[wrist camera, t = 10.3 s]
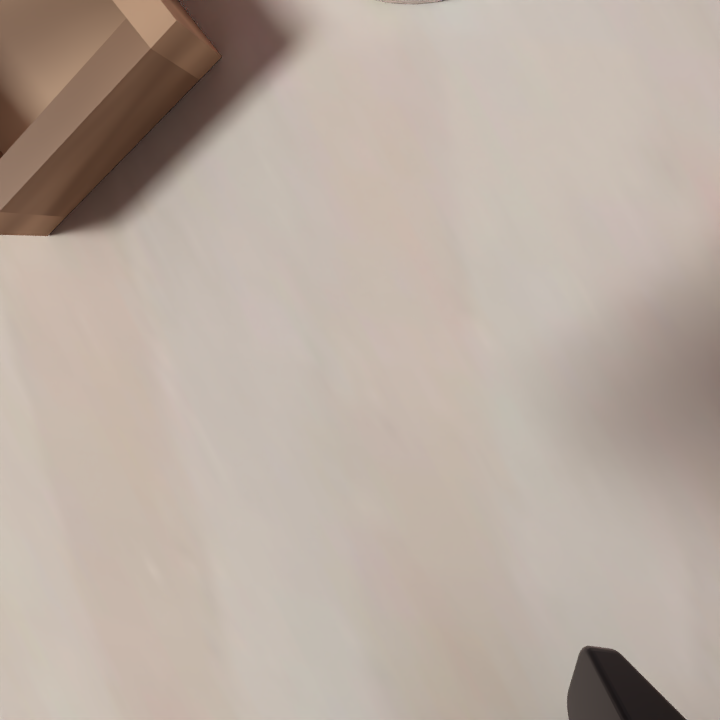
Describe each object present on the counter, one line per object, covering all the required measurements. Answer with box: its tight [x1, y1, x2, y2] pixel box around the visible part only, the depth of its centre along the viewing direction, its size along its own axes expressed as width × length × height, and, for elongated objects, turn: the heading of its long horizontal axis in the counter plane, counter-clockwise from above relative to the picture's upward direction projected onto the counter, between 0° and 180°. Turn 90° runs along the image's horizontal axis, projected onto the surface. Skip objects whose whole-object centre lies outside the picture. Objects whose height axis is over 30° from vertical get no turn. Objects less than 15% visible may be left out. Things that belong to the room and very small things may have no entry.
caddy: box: [0, 0, 222, 236], centre depth 17 cm, size 9×9×3 cm
